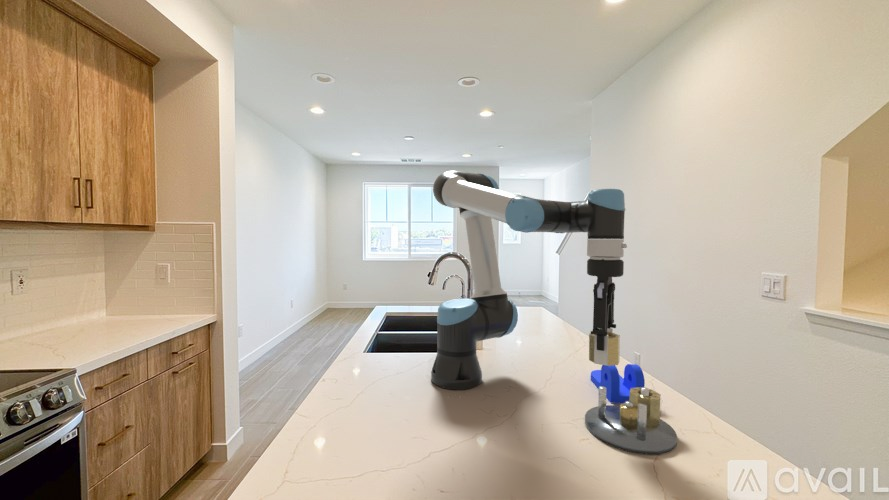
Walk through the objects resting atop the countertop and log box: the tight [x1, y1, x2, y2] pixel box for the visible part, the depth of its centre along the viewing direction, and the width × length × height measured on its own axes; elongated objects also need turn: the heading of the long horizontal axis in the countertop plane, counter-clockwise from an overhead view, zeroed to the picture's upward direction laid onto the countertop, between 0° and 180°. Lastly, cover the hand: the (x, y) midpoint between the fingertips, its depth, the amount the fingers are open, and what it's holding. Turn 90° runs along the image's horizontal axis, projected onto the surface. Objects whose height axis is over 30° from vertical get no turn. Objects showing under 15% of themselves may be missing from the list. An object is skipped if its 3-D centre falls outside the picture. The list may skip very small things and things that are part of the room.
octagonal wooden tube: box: [588, 332, 621, 366], centre depth 81 cm, size 6×6×6 cm
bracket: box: [590, 363, 646, 404], centre depth 100 cm, size 18×8×9 cm, turn 177°
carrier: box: [584, 386, 678, 456], centre depth 79 cm, size 18×18×8 cm
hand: (603, 359), depth 81 cm, fingers closed on octagonal wooden tube, 6 cm apart
